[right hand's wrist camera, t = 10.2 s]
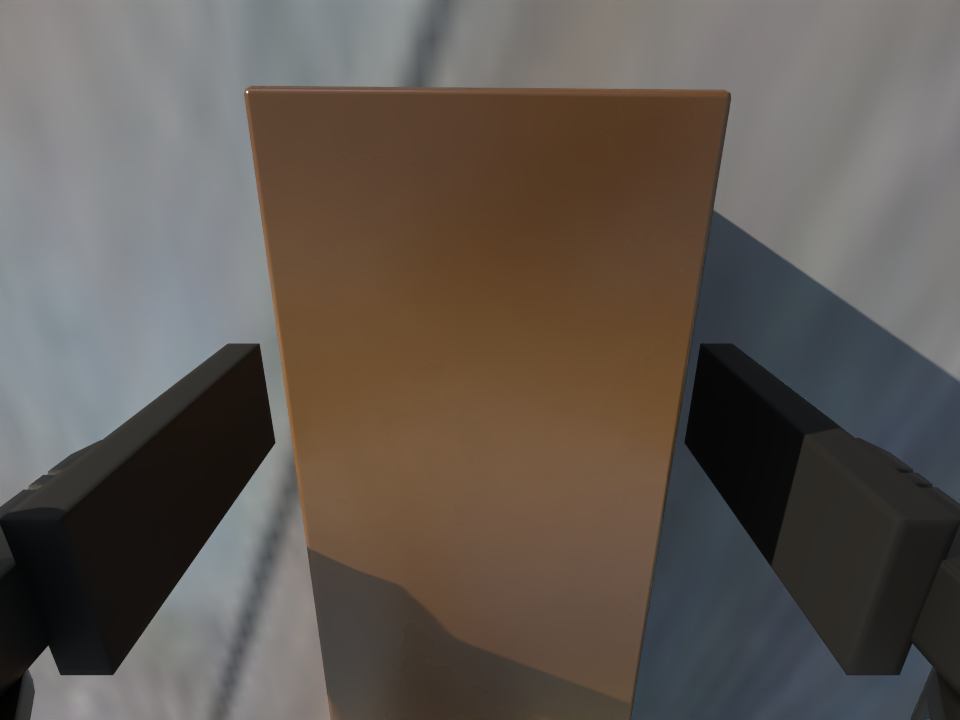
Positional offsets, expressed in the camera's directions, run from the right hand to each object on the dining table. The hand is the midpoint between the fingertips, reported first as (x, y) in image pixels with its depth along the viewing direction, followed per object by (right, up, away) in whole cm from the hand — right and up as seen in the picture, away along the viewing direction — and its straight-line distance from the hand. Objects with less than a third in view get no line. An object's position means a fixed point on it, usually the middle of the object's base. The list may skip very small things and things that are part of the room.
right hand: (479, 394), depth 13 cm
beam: (0, -18, +10) cm, 21 cm away
